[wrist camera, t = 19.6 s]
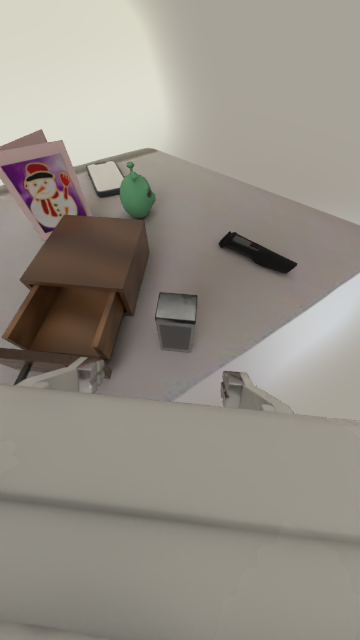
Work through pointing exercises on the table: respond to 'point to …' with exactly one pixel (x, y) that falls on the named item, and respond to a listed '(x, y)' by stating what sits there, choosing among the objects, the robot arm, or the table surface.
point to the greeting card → (42, 181)
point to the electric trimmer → (257, 253)
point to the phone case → (105, 178)
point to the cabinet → (93, 257)
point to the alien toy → (136, 194)
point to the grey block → (176, 321)
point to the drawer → (62, 329)
